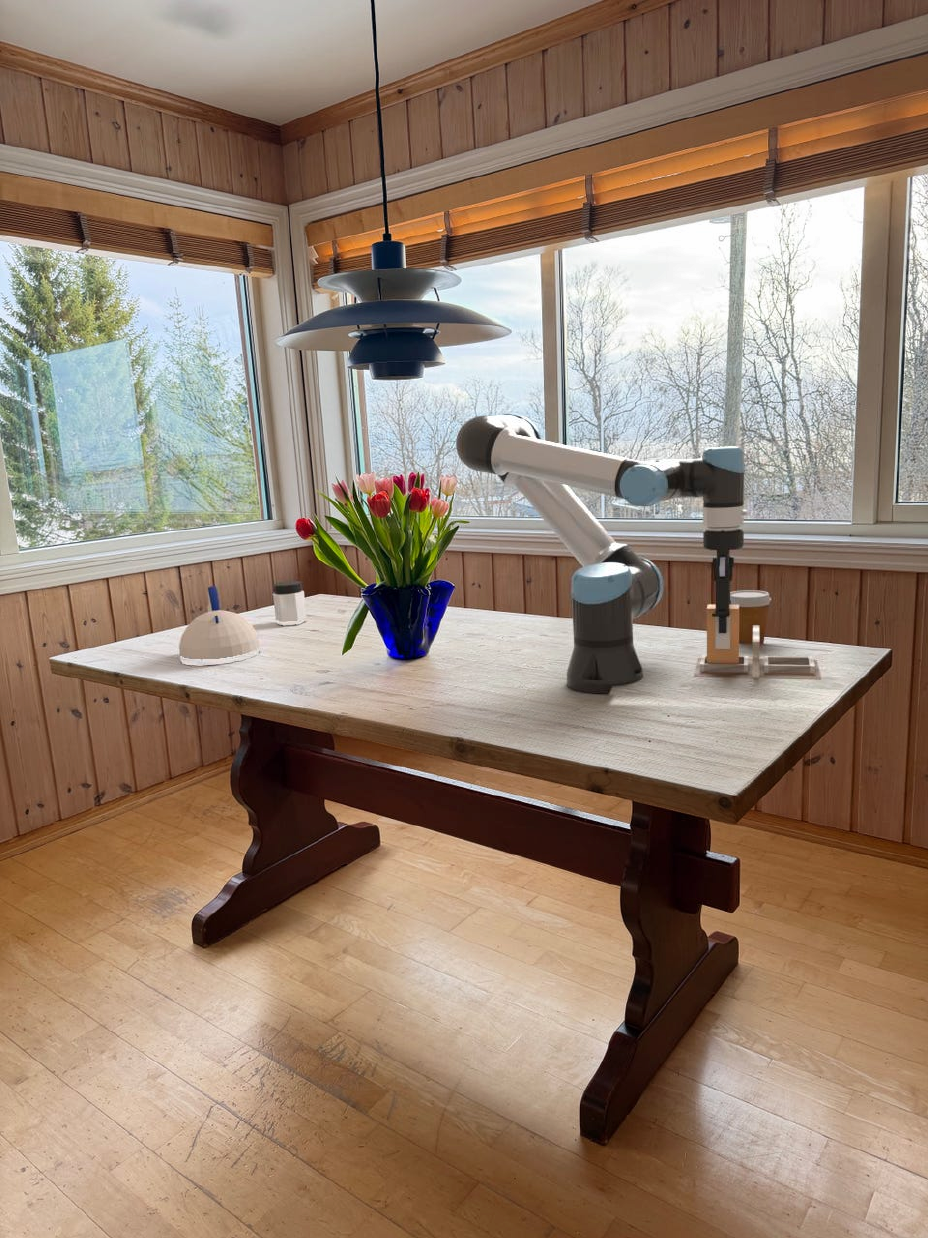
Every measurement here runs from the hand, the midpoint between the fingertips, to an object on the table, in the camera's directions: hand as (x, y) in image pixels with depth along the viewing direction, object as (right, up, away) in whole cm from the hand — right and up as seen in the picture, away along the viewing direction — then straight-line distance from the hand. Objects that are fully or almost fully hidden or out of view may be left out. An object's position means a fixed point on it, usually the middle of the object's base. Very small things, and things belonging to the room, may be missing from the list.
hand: (723, 645), depth 172 cm
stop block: (0, -3, +1) cm, 3 cm away
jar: (-102, +4, +83) cm, 132 cm away
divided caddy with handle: (+6, -6, -1) cm, 9 cm away
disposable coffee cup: (+12, -1, +21) cm, 24 cm away
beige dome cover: (-113, -4, +48) cm, 123 cm away
